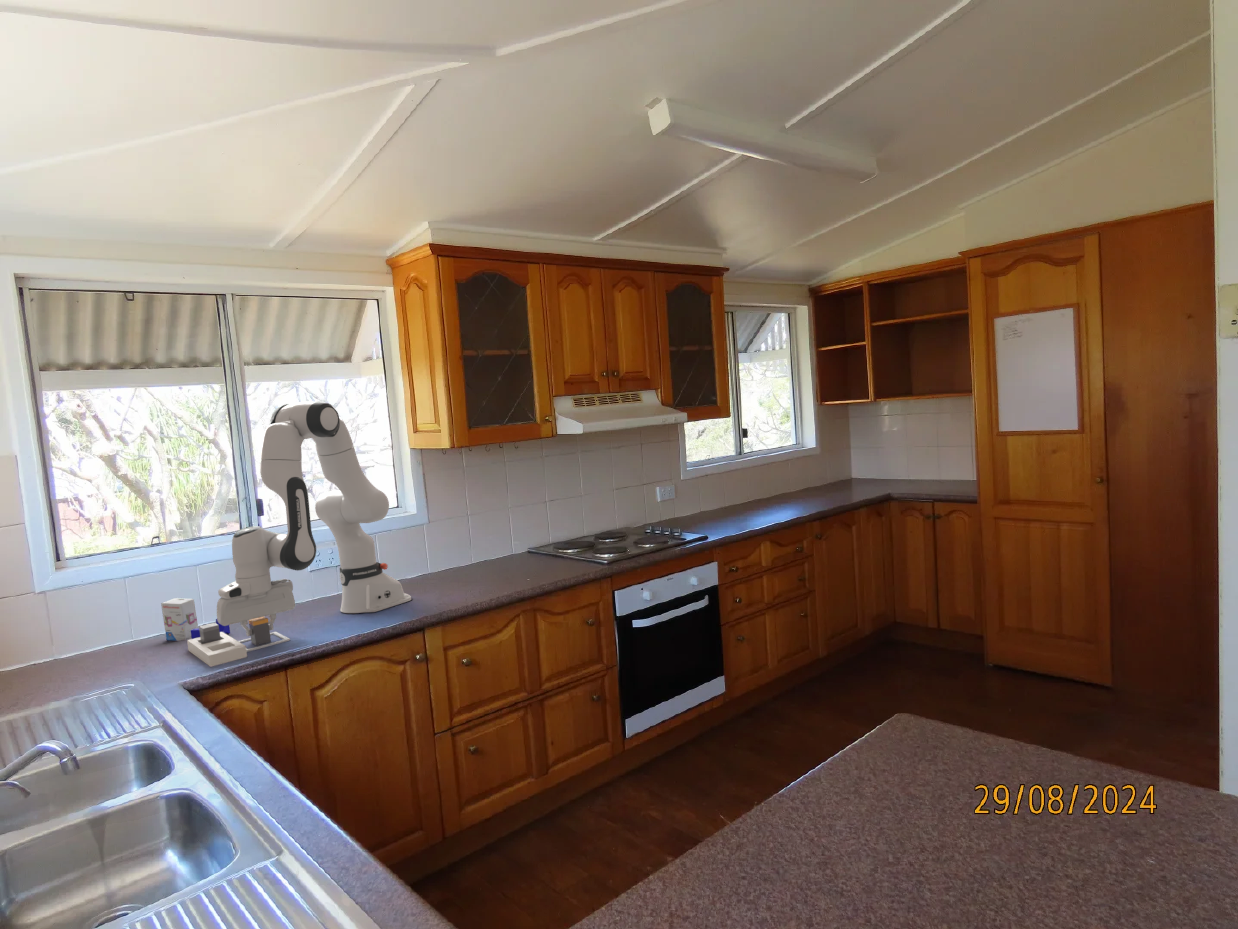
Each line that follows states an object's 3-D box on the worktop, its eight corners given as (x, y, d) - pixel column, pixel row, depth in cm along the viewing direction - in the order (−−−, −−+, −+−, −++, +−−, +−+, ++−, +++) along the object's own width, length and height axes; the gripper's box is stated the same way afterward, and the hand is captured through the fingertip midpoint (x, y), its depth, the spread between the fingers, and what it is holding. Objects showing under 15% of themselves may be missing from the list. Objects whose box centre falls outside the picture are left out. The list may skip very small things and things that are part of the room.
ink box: (165, 640, 231) (159, 602, 230) (179, 635, 236) (174, 597, 235) (186, 641, 228) (180, 602, 227) (200, 636, 233) (195, 598, 232)
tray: (276, 636, 226) (275, 631, 226) (290, 643, 217) (290, 638, 217) (232, 647, 218) (231, 642, 218) (245, 655, 209) (245, 650, 209)
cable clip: (217, 637, 231) (214, 617, 231) (230, 636, 230) (228, 617, 230) (188, 650, 219) (185, 630, 219) (202, 650, 219) (199, 630, 218)
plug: (266, 640, 221) (263, 616, 220) (271, 642, 218) (268, 618, 217) (251, 644, 218) (248, 620, 217) (256, 646, 215) (253, 622, 214)
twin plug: (217, 646, 217) (214, 622, 216) (221, 649, 214) (218, 625, 213) (202, 650, 214) (198, 626, 213) (206, 653, 211) (202, 628, 210)
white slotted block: (223, 645, 221) (221, 631, 221) (247, 660, 205) (245, 646, 205) (188, 654, 215) (187, 640, 215) (210, 670, 199) (209, 655, 199)
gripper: (287, 575, 226) (293, 621, 227) (211, 591, 212) (218, 640, 213) (295, 578, 221) (301, 625, 222) (218, 594, 207) (224, 644, 208)
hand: (260, 632), depth 218 cm, fingers closed on plug, 4 cm apart
